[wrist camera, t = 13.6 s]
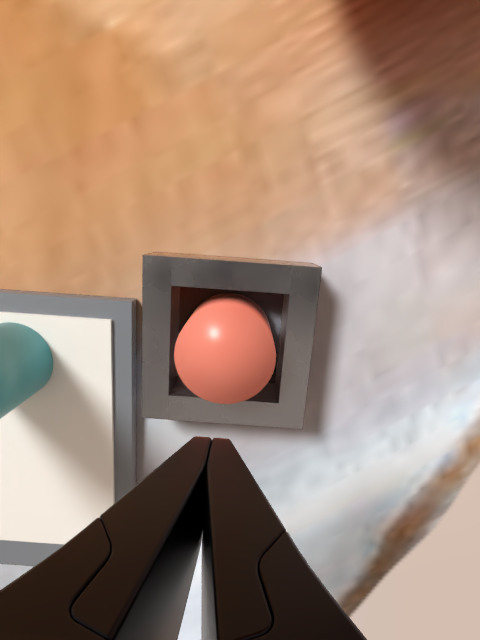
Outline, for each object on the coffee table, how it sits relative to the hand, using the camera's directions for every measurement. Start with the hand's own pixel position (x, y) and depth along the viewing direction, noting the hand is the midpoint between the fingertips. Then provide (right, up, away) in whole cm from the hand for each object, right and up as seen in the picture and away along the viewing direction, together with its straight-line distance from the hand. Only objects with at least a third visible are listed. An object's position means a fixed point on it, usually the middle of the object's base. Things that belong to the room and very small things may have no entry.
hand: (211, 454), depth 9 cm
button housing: (0, +2, +11) cm, 11 cm away
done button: (0, +2, +11) cm, 11 cm away
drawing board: (-13, -3, +13) cm, 19 cm away
